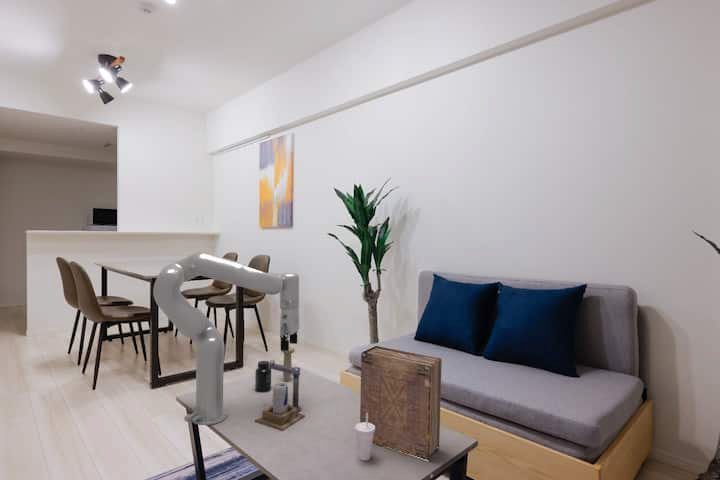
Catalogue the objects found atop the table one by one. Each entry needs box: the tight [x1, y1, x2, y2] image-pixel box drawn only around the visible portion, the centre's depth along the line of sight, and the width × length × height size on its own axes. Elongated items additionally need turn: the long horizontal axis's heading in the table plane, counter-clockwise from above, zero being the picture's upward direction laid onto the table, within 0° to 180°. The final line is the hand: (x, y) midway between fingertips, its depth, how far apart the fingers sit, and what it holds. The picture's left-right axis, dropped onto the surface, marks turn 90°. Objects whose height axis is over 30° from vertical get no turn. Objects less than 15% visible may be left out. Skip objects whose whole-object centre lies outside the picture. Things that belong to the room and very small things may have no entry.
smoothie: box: [354, 413, 375, 461], centre depth 128 cm, size 6×6×14 cm
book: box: [359, 345, 443, 460], centre depth 136 cm, size 25×9×30 cm, turn 58°
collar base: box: [254, 375, 306, 432], centre depth 154 cm, size 18×13×14 cm
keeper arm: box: [268, 359, 301, 377], centre depth 163 cm, size 15×3×3 cm, turn 61°
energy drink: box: [272, 382, 289, 415], centre depth 152 cm, size 5×5×12 cm
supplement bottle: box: [254, 360, 272, 393], centre depth 180 cm, size 7×7×12 cm
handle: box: [280, 346, 295, 382], centre depth 191 cm, size 5×6×15 cm
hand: (289, 346), depth 163 cm, fingers open, 9 cm apart
